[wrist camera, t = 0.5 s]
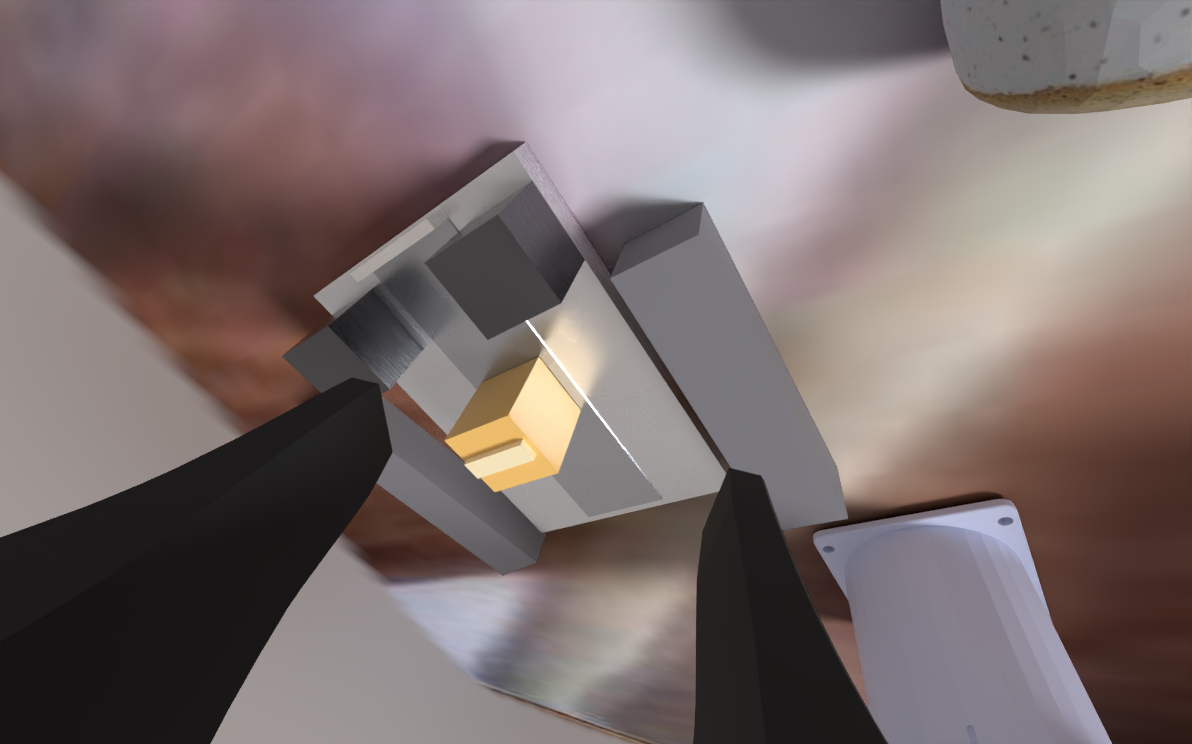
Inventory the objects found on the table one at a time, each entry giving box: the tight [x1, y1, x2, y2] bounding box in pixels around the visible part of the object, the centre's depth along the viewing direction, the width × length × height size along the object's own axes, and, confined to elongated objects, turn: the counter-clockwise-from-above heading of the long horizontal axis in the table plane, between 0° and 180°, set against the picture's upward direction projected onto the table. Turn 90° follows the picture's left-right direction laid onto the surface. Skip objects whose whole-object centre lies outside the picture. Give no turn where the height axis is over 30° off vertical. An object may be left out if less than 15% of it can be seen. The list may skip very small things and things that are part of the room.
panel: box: [282, 142, 731, 533], centre depth 21 cm, size 16×11×4 cm
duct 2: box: [610, 203, 848, 531], centre depth 19 cm, size 13×3×3 cm, turn 33°
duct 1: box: [376, 397, 547, 575], centre depth 27 cm, size 13×3×2 cm, turn 44°
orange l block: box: [444, 357, 581, 492], centre depth 20 cm, size 3×3×4 cm
